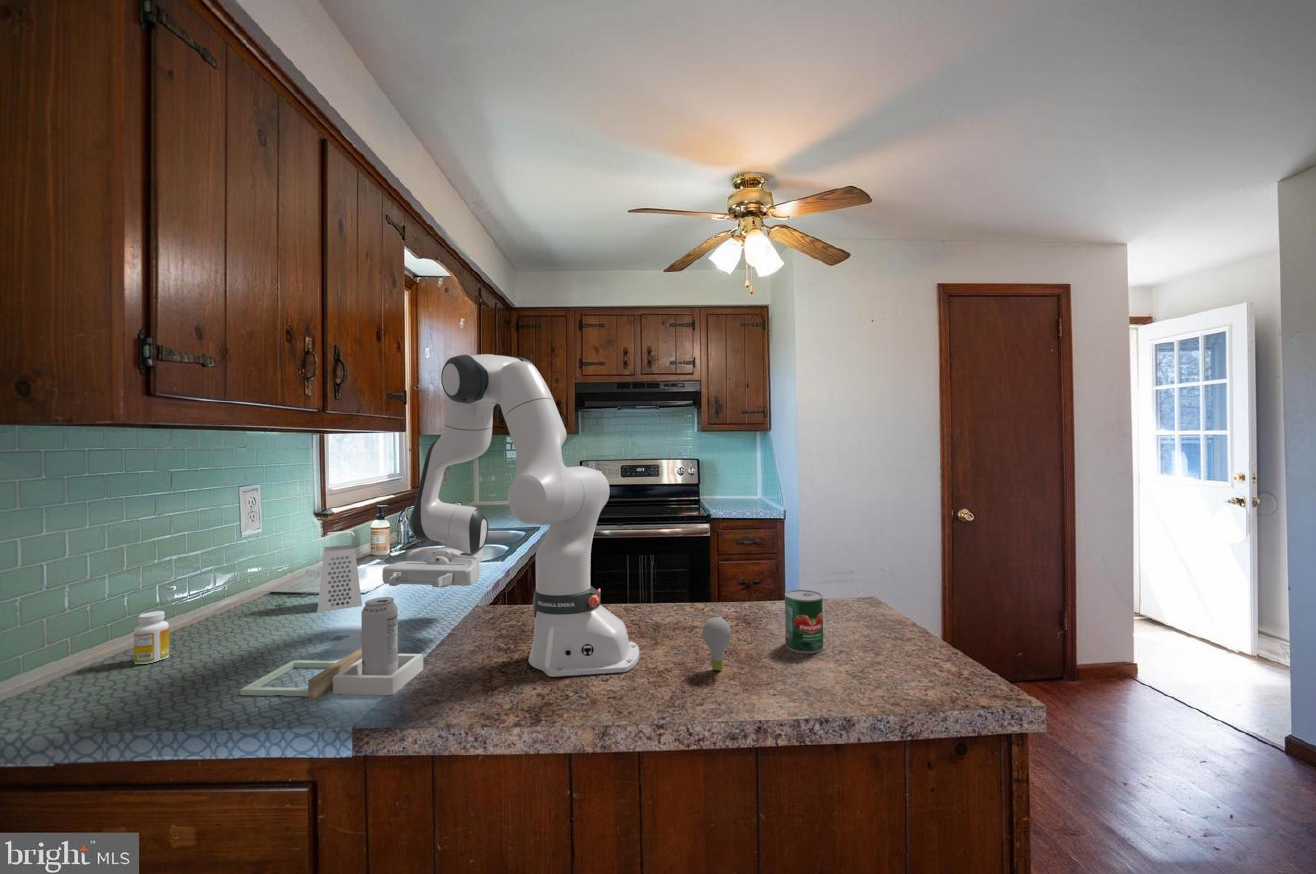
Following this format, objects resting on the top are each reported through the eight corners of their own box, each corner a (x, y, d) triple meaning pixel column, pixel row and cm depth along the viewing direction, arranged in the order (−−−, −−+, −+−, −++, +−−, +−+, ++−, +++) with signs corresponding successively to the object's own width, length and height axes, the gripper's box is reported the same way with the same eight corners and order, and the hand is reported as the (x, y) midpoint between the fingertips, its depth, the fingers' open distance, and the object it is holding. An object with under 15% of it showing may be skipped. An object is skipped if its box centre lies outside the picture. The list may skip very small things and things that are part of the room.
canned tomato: (808, 656, 112) (807, 602, 112) (777, 645, 118) (776, 594, 118) (831, 646, 117) (830, 595, 117) (800, 637, 123) (799, 587, 123)
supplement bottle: (163, 653, 118) (163, 608, 118) (173, 658, 116) (173, 612, 116) (129, 662, 114) (129, 615, 114) (139, 667, 111) (139, 619, 111)
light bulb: (736, 668, 107) (735, 616, 107) (724, 678, 102) (723, 624, 102) (710, 662, 110) (709, 612, 110) (698, 672, 105) (697, 620, 105)
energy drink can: (370, 675, 106) (369, 596, 106) (402, 673, 106) (402, 595, 107) (356, 689, 100) (355, 606, 100) (390, 687, 100) (390, 604, 101)
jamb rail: (370, 663, 112) (370, 646, 112) (316, 700, 96) (316, 680, 96) (363, 663, 112) (363, 646, 112) (308, 700, 96) (308, 680, 96)
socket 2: (423, 669, 108) (423, 654, 108) (392, 695, 97) (392, 678, 97) (369, 668, 109) (369, 653, 109) (332, 694, 98) (332, 677, 98)
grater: (362, 606, 152) (361, 533, 152) (317, 612, 146) (316, 537, 147) (360, 597, 161) (360, 528, 161) (318, 602, 156) (317, 531, 156)
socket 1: (355, 666, 110) (355, 661, 110) (310, 696, 97) (310, 690, 97) (293, 665, 111) (293, 660, 111) (240, 695, 98) (240, 689, 98)
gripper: (401, 553, 131) (366, 566, 117) (485, 554, 130) (460, 569, 116) (400, 579, 131) (366, 596, 117) (484, 581, 130) (460, 599, 116)
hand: (413, 582), depth 116 cm, fingers open, 8 cm apart
